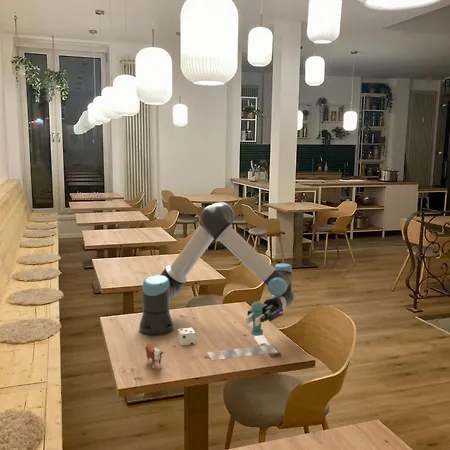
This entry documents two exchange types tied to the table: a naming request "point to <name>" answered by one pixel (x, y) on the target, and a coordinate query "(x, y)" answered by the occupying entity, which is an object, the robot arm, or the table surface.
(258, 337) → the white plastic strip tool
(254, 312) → the pawn
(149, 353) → the bull figurine
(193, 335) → the die
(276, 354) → the board
